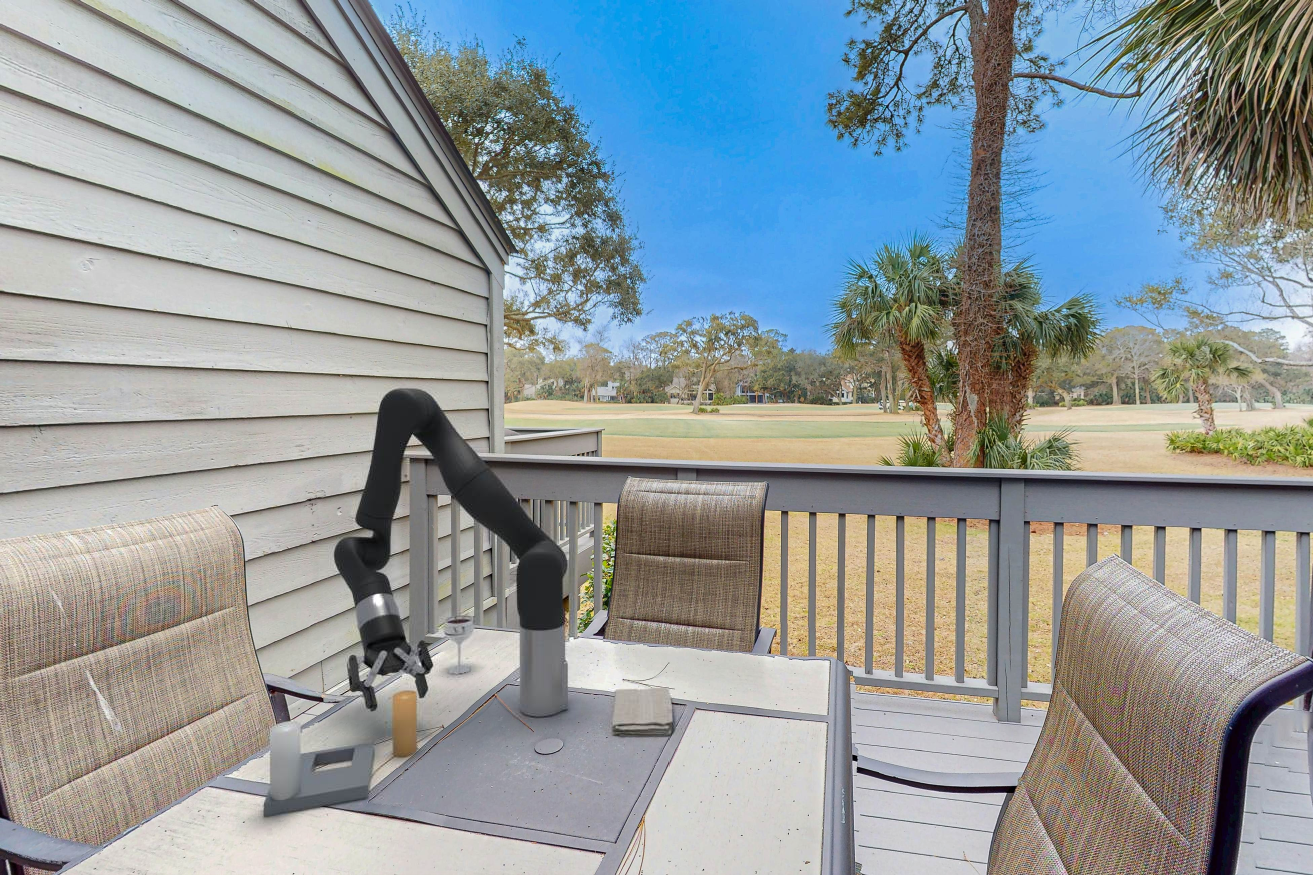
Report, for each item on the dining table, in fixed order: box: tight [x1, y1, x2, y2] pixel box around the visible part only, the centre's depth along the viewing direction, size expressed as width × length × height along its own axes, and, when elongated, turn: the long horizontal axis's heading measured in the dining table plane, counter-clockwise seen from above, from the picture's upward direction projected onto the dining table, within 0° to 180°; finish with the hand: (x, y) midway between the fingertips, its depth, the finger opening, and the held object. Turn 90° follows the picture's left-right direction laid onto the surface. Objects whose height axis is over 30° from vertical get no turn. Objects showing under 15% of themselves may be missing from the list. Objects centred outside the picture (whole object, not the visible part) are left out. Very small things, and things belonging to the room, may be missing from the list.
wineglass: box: [443, 614, 475, 675], centre depth 148 cm, size 7×7×12 cm
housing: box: [263, 720, 375, 818], centre depth 102 cm, size 14×14×12 cm
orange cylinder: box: [391, 689, 418, 758], centre depth 112 cm, size 4×4×10 cm
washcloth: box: [611, 687, 674, 737], centre depth 126 cm, size 12×18×3 cm, turn 3°
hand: (399, 702), depth 114 cm, fingers open, 8 cm apart
